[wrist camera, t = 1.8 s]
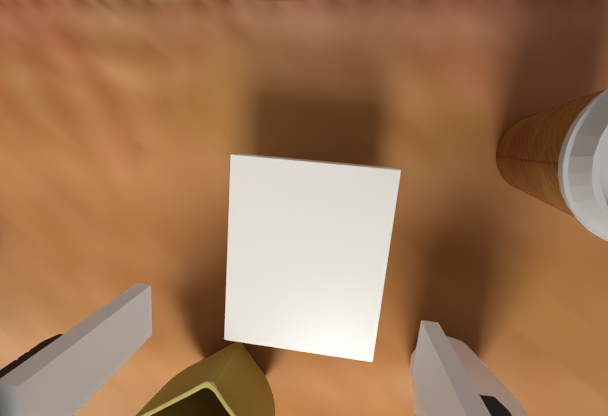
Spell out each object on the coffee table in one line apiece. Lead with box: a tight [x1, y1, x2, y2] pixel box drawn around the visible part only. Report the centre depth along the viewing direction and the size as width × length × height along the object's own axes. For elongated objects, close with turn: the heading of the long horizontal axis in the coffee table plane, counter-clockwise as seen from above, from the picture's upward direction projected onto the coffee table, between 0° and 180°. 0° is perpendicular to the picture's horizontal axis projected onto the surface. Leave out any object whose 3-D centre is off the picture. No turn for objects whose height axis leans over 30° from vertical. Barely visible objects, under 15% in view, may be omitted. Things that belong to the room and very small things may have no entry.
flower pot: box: [136, 342, 275, 416], centre depth 29 cm, size 9×9×9 cm
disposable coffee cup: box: [497, 88, 608, 241], centre depth 20 cm, size 10×10×12 cm
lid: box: [224, 154, 401, 362], centre depth 25 cm, size 12×15×2 cm
